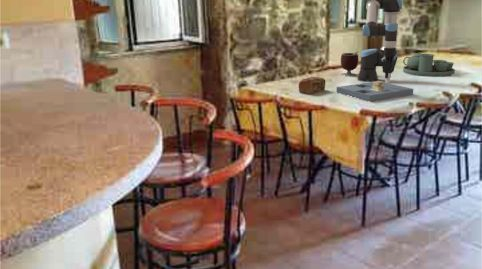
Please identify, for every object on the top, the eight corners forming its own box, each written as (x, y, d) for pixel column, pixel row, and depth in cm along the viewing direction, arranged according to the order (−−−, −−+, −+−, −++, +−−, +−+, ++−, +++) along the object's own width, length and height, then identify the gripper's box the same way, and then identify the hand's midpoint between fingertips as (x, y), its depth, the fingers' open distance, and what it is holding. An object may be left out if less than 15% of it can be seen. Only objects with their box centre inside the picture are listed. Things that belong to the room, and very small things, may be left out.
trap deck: (378, 86, 342) (378, 81, 340) (412, 94, 315) (413, 88, 313) (336, 92, 324) (336, 86, 323) (369, 101, 298) (369, 95, 296)
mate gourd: (336, 75, 389) (337, 50, 384) (347, 73, 397) (349, 48, 392) (351, 77, 378) (352, 52, 372) (362, 75, 386) (364, 50, 380)
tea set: (462, 76, 376) (465, 55, 371) (412, 77, 376) (414, 56, 371) (442, 68, 414) (444, 49, 409) (396, 69, 414) (397, 50, 409)
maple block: (377, 88, 317) (378, 80, 316) (383, 89, 313) (383, 82, 311) (372, 89, 315) (372, 81, 313) (377, 90, 311) (378, 82, 309)
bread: (310, 94, 320) (310, 80, 317) (297, 92, 327) (297, 78, 324) (325, 90, 333) (326, 76, 330) (313, 88, 340) (313, 74, 337)
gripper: (393, 45, 317) (390, 80, 324) (378, 47, 311) (376, 83, 318) (401, 47, 310) (398, 82, 318) (386, 48, 305) (384, 84, 312)
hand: (387, 82), depth 318 cm, fingers closed
